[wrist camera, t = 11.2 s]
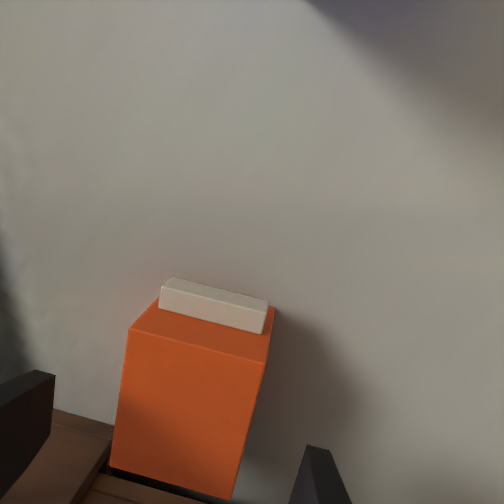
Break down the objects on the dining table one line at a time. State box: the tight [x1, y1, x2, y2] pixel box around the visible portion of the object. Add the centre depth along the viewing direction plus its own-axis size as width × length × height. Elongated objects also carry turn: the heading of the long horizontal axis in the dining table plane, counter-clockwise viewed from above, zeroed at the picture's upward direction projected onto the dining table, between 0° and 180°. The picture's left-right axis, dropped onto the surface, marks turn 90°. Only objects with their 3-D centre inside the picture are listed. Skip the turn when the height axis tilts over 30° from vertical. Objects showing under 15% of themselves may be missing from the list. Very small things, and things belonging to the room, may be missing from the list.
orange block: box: [109, 277, 275, 500], centre depth 14 cm, size 4×7×4 cm, turn 168°
